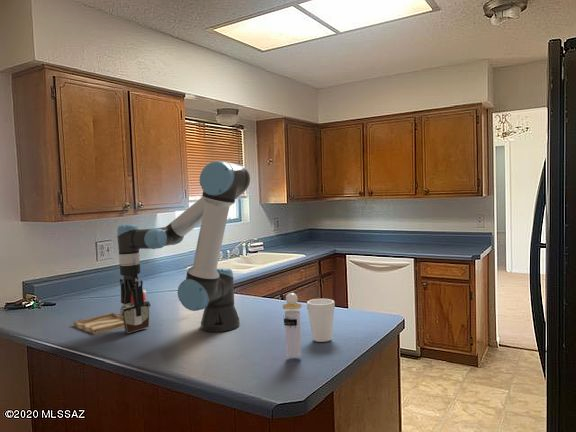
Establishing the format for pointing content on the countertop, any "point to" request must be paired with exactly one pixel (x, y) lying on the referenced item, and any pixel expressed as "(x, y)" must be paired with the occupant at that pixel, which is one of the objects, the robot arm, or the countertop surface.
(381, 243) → the countertop surface
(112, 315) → the tray
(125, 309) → the brown white half-round block
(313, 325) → the foam cup
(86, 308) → the countertop surface
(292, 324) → the perfume bottle
